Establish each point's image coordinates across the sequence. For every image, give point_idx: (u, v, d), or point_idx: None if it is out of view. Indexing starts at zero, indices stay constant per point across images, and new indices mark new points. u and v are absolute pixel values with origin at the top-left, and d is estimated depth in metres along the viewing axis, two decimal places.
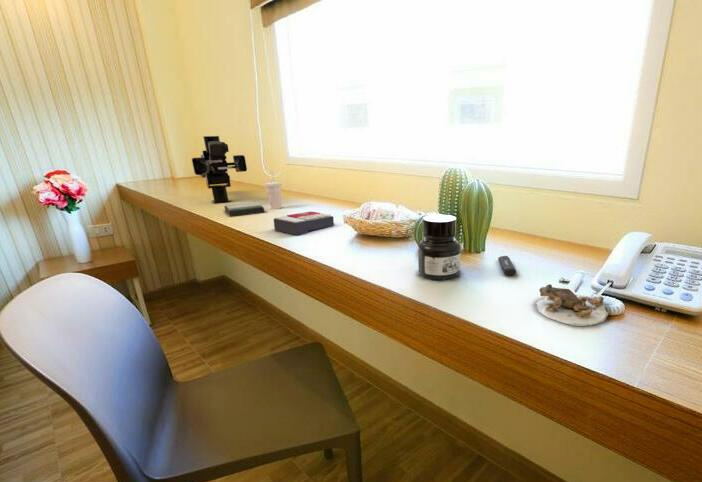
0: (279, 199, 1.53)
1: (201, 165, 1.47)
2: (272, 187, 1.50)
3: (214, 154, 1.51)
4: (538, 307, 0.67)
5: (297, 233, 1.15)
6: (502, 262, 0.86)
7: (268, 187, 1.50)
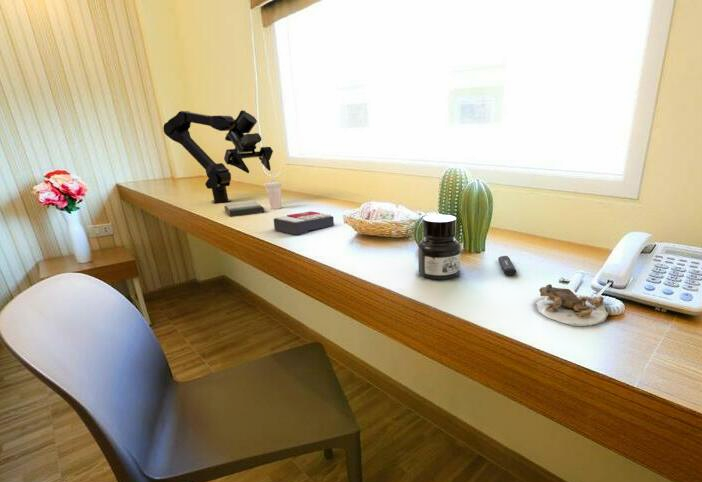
0: (279, 199, 1.53)
1: (235, 159, 1.51)
2: (272, 187, 1.50)
3: (247, 145, 1.53)
4: (538, 307, 0.67)
5: (297, 233, 1.15)
6: (502, 262, 0.86)
7: (268, 187, 1.50)
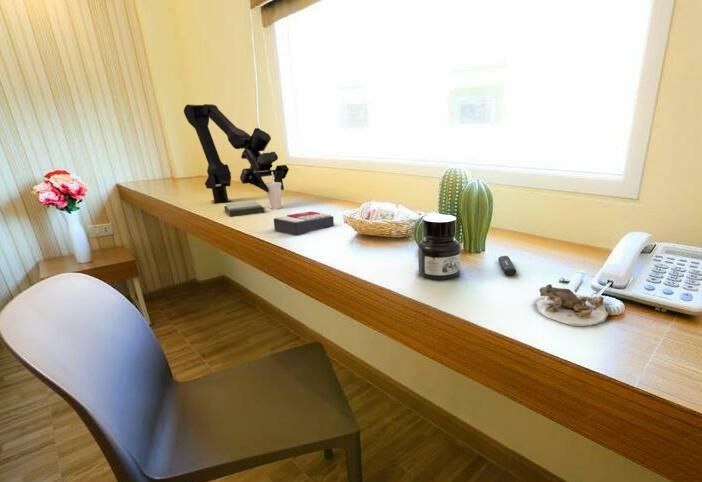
0: (279, 199, 1.53)
1: (255, 178, 1.49)
2: (272, 187, 1.50)
3: (263, 164, 1.50)
4: (538, 307, 0.67)
5: (297, 233, 1.15)
6: (502, 262, 0.86)
7: (268, 187, 1.50)
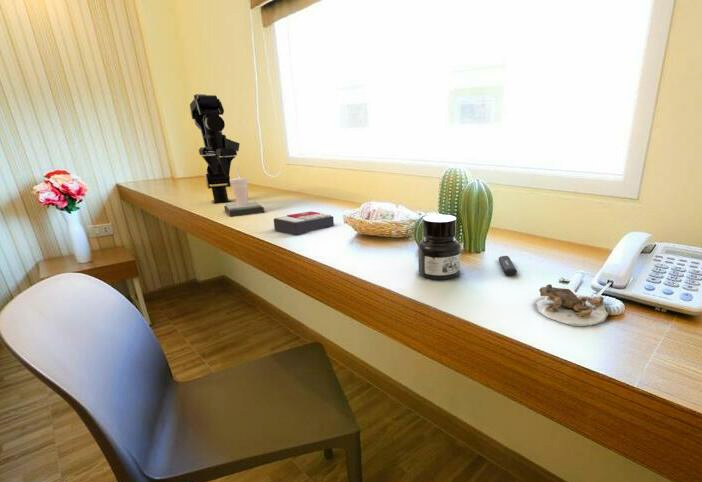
0: (245, 195, 1.47)
1: (227, 158, 1.46)
2: (237, 183, 1.43)
3: (227, 147, 1.51)
4: (538, 307, 0.67)
5: (297, 233, 1.15)
6: (502, 262, 0.86)
7: (233, 183, 1.43)
